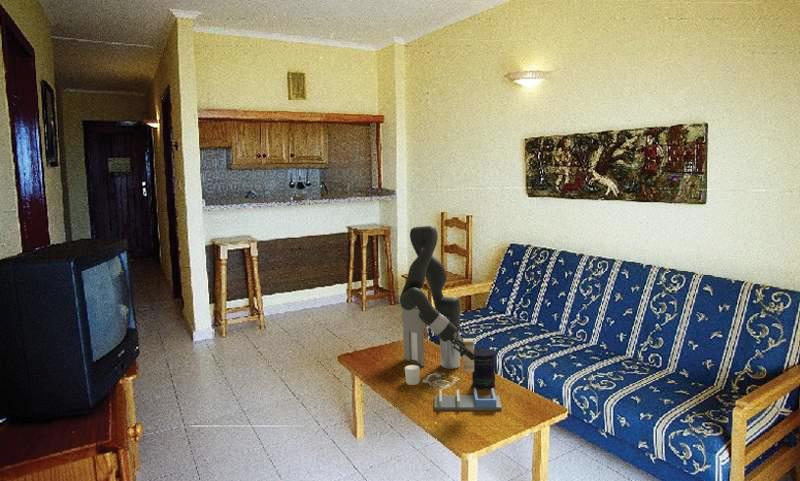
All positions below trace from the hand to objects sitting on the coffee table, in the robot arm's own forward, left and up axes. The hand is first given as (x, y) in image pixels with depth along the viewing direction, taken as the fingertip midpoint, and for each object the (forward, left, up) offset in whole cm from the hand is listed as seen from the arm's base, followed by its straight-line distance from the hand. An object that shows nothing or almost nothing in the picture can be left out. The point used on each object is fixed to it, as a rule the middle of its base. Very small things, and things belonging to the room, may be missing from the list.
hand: (473, 356), depth 210 cm
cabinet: (-51, -27, -20) cm, 61 cm away
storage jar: (-19, +5, -20) cm, 28 cm away
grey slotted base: (0, -3, -20) cm, 20 cm away
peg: (0, -2, -5) cm, 6 cm away
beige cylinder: (-22, -26, -20) cm, 39 cm away
